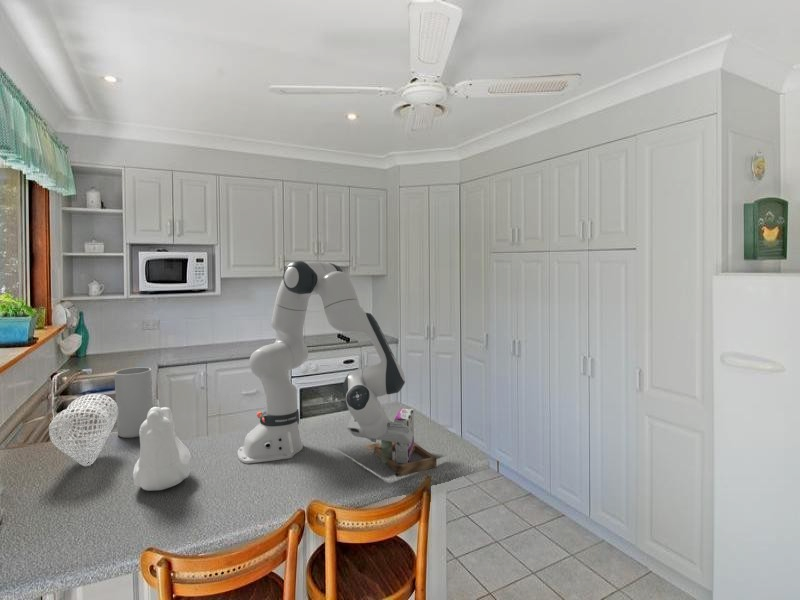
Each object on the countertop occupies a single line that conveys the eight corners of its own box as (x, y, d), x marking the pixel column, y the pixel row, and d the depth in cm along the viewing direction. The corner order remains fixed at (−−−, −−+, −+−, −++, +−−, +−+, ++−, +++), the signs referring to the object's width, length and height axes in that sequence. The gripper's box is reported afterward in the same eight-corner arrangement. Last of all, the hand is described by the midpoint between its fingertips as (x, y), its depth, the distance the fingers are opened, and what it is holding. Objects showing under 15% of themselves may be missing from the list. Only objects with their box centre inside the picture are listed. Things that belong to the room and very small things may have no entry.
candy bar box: (400, 453, 161) (400, 407, 159) (414, 454, 160) (414, 408, 158) (394, 467, 150) (393, 418, 148) (409, 468, 149) (409, 419, 147)
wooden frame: (394, 477, 142) (393, 436, 141) (371, 456, 157) (370, 419, 156) (436, 466, 149) (436, 428, 148) (410, 447, 165) (410, 412, 164)
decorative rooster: (179, 498, 131) (175, 413, 129) (121, 501, 129) (116, 415, 127) (207, 460, 155) (204, 389, 153) (159, 462, 154) (155, 390, 152)
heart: (74, 452, 163) (70, 391, 161) (124, 446, 168) (121, 387, 166) (44, 488, 136) (39, 416, 135) (104, 480, 142) (100, 410, 140)
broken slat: (368, 454, 160) (368, 449, 160) (364, 450, 164) (364, 445, 163) (406, 445, 167) (406, 441, 167) (401, 442, 171) (401, 438, 170)
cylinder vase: (161, 428, 186) (158, 368, 184) (137, 439, 174) (133, 375, 172) (135, 426, 189) (132, 366, 187) (110, 437, 177) (106, 373, 175)
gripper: (408, 416, 138) (419, 436, 148) (348, 409, 146) (362, 429, 155) (403, 435, 134) (415, 455, 144) (342, 427, 142) (357, 446, 151)
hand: (387, 441), depth 150 cm, fingers open, 8 cm apart
